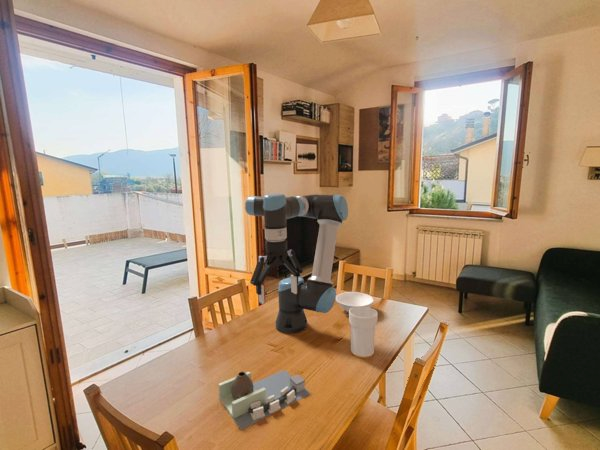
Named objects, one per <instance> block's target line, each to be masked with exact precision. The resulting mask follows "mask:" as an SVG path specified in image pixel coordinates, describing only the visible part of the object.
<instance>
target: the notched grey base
mask: <svg viewBox="0 0 600 450" xmlns="http://www.w3.org/2000/svg"><path fill="white" fill-rule="evenodd" d="M292 390H295V391H296V387H295V386H292V388H291V389H290V390H289V391H288V392H287V393H286V394H284V395H283V396H281V397H279V398H278V399H276V400H279V404H281V403H283V402H284V401H285V400H287V394H288V393H289V392H291V391H292ZM276 400H274V401H276ZM274 401H272V402H274ZM272 402H270V403H272ZM270 403H268V404H265V405H263V408H264V412H265V411H267V410H268V409H270ZM260 407H262V406H260ZM258 408H259V407H258ZM253 409H256V408H253ZM253 409H251V408H249V413H253Z"/></svg>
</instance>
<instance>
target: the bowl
mask: <svg viewBox="0 0 600 450" xmlns="http://www.w3.org/2000/svg"><path fill="white" fill-rule="evenodd" d="M335 302H336V304H337V305H338V306H339V307H341V308H343V310H345V312H347V313H349V310H350V309H351V308H353V307H356V306H366V307H370V308H371V307H372V305H373V303H374V297H373V296H371V295H369V294H367V293H364V292H359V291H346V292H341V293H339V294H336V299H335Z"/></svg>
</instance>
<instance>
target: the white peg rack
mask: <svg viewBox="0 0 600 450" xmlns="http://www.w3.org/2000/svg"><path fill="white" fill-rule="evenodd" d="M292 386H295V387H296V391H295V390H292V391H291V392H289V393H288V394H287V400H285V401H284V402H285V403H287V404H290V403H291V402H292V401H293V400H294V399H295V398H296V396H295V392H296V393H298V392H300V391H302V390H304V389H305V388H306V383H305V378H303V377H301V375H299V374H295V375H293V376H292V377H291V378H290V387H291V388H292ZM288 391H289V389H288V387H285V388H284V389H283V390H281V396H283V395H284V394H286V393H287V392H288ZM274 400H275V396H274V395H272V396H270V397H268V398H266V399H265V404H268V403H270V402H272V401H274ZM290 405H291V404H290ZM260 406H261V402H260V401H257V402H254V403H251V404H250V408H251V409H253V408H256V409H253V413H250V414H251V417H252V419H253V420H256V419H259V418H261V417H264V416H265V414H264V408H263V406H262V407H260ZM258 407H259V408H258ZM279 409H281V407H280V406H279V400H276V401H274V402H272V403H270V409H268V410H267V411H268V412H269V413H270V414H271V413H273V412H275V411H277V410H279ZM281 410H282V409H281ZM279 411H280V410H279ZM277 412H278V411H277ZM275 413H276V412H275ZM273 414H274V413H273ZM271 415H272V414H271Z"/></svg>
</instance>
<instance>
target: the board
mask: <svg viewBox="0 0 600 450" xmlns="http://www.w3.org/2000/svg"><path fill="white" fill-rule="evenodd" d="M291 377H293V376H292V375H291V374H290V373H289V372H288V371H286V370H285V369H283V370H280V371H278V372H275V373H273V374H271V375H268V376H267V377H265V378H262V379H260V380H258V381H255V382H253V387H254V389H255V390H256V391H257V390H259V389H261V388H265V389H266V398H268V397H270V396H272V395H274V396H275V400H276V399H278V398H279V397H281V390H283V389H284V388H285V387H288V389H289V390H290V389H291V387H290V378H291ZM311 394H312V393H311V392H310V391H309V390H308V389H307V388H306V387H305V389H304V390H302V391H300V392H298V393H296V392H295V396H296V398H295V399H294V400H293V401H292V402H291V403H290V404H287V403H285V402H283V403H281V404H279V406H280V407H281V409H279V410H277V411H275V412H273V413H271V414H270V413H269V412H268V411H265V412H264V414H265V416H264V417H261V418H259V419H256V420H253V419H252V417H251V414H250V413H247V414H245V415H243V416H241V417H239V418H237V419H235V420H234V419H233V417H232V416H231V414H230V413H229V411H228V410H227V409H226V407H225V406H224V404H223V403H222V401H221V400H220V398H219V397H218V399H219V400H220V401H219V402H221V403H222V405H223V406H224V408H225V409H226V411H227V412H228V413H229V415H230V416H231V418H232V419H233V421H234V422H235V423H236V425H237V427H238V428H239V430H242V431H243V429H246V428H248V427H249V426H251V425H253V424H255V423H257V422H259V421H261V420H263V419H265V418H267V417H269V416H271V415H272V414H275V413H277V412H278V411H280V410H283V409H284V408H286V407H288V406H291V405H292V404H294V403H296V402H298V401H300V400H302V399H304V398H306V397H307V396H310V395H311Z"/></svg>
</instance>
